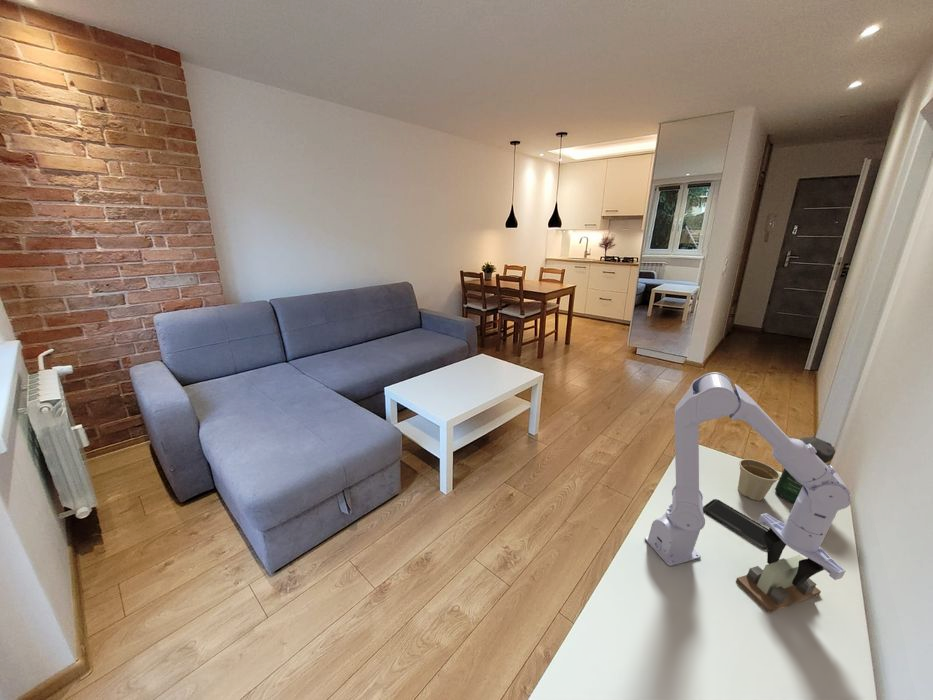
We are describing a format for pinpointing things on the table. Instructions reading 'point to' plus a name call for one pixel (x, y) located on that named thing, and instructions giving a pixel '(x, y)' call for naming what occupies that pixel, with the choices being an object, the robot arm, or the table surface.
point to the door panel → (779, 574)
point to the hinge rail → (765, 598)
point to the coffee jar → (788, 483)
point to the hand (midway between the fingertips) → (784, 573)
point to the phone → (737, 522)
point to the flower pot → (756, 478)
